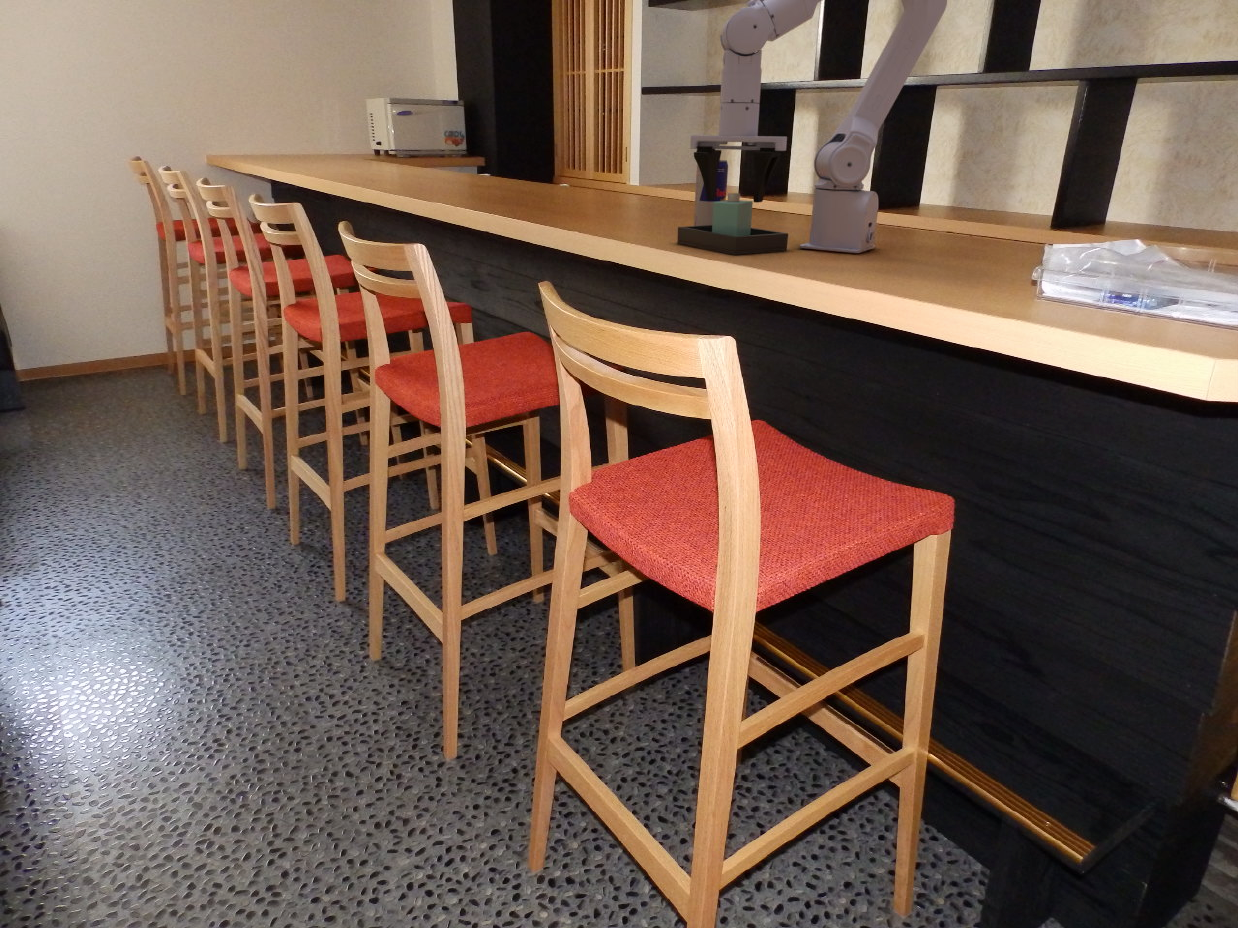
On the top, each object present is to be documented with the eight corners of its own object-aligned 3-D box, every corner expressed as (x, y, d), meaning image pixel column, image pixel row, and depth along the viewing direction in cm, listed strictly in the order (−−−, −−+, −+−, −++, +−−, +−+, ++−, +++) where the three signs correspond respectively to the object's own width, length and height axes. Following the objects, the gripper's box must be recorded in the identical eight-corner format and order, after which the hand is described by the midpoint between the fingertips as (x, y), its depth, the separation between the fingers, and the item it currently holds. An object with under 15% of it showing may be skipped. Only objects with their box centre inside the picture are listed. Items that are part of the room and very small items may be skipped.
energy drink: (721, 235, 145) (726, 161, 140) (691, 233, 146) (694, 160, 142) (725, 231, 150) (730, 160, 145) (695, 230, 151) (699, 159, 146)
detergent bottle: (750, 242, 132) (753, 192, 129) (735, 246, 127) (738, 195, 124) (726, 240, 133) (729, 191, 131) (711, 244, 128) (713, 193, 126)
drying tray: (786, 251, 127) (788, 233, 126) (735, 255, 122) (736, 237, 121) (726, 240, 138) (727, 224, 137) (677, 243, 133) (677, 227, 132)
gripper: (796, 104, 122) (788, 201, 128) (705, 104, 129) (701, 197, 134) (780, 103, 117) (772, 204, 122) (685, 103, 123) (682, 199, 128)
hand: (734, 201), depth 128 cm, fingers open, 7 cm apart
